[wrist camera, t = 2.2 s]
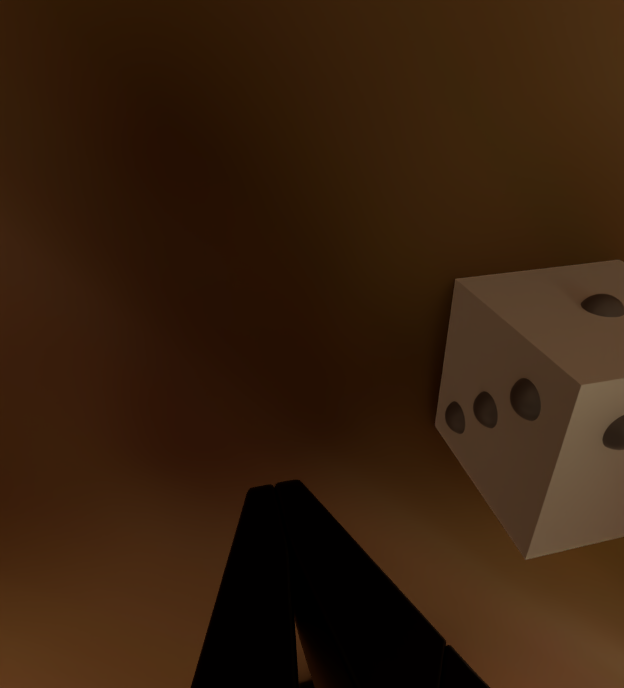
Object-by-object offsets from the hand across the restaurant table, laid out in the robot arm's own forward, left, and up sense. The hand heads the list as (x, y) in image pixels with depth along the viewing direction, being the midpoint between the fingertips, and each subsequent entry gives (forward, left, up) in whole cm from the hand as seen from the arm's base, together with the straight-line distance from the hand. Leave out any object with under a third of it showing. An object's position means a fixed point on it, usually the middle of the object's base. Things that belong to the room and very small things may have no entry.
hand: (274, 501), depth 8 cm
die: (0, -6, -3) cm, 7 cm away
